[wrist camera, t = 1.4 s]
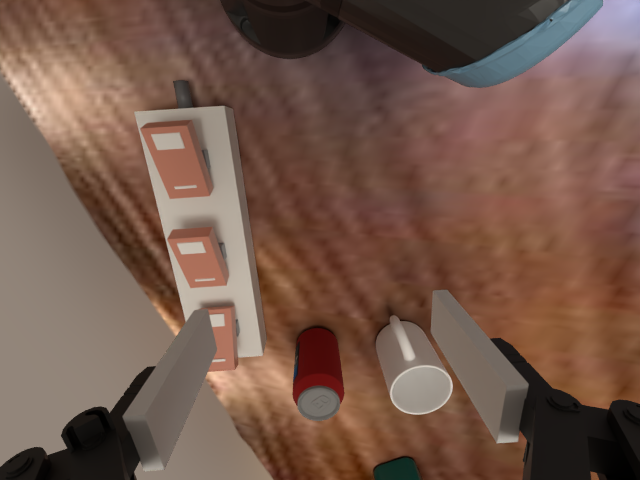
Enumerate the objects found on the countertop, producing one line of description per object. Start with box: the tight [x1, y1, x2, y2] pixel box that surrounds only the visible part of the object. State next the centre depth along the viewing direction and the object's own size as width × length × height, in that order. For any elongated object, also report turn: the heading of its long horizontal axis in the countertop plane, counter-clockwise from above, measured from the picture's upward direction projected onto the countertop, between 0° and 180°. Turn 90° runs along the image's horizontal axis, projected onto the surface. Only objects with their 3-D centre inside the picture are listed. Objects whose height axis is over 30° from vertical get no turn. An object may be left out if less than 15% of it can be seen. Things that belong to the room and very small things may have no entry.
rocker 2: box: [167, 227, 229, 288], centre depth 36 cm, size 8×5×2 cm, turn 4°
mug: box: [376, 315, 452, 414], centre depth 44 cm, size 12×8×10 cm
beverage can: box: [293, 328, 344, 421], centre depth 43 cm, size 7×7×12 cm
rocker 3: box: [198, 306, 238, 372], centre depth 40 cm, size 8×5×2 cm, turn 3°
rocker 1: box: [140, 120, 213, 199], centre depth 33 cm, size 8×5×2 cm, turn 4°
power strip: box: [134, 80, 267, 357], centre depth 40 cm, size 37×10×5 cm, turn 4°
